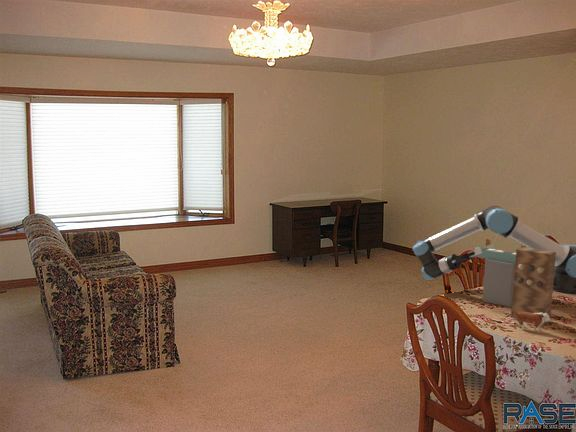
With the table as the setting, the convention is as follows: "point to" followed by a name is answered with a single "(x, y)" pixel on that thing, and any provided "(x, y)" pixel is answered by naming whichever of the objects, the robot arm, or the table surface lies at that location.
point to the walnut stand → (533, 281)
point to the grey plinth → (498, 282)
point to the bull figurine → (531, 319)
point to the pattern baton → (497, 255)
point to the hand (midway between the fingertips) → (487, 248)
